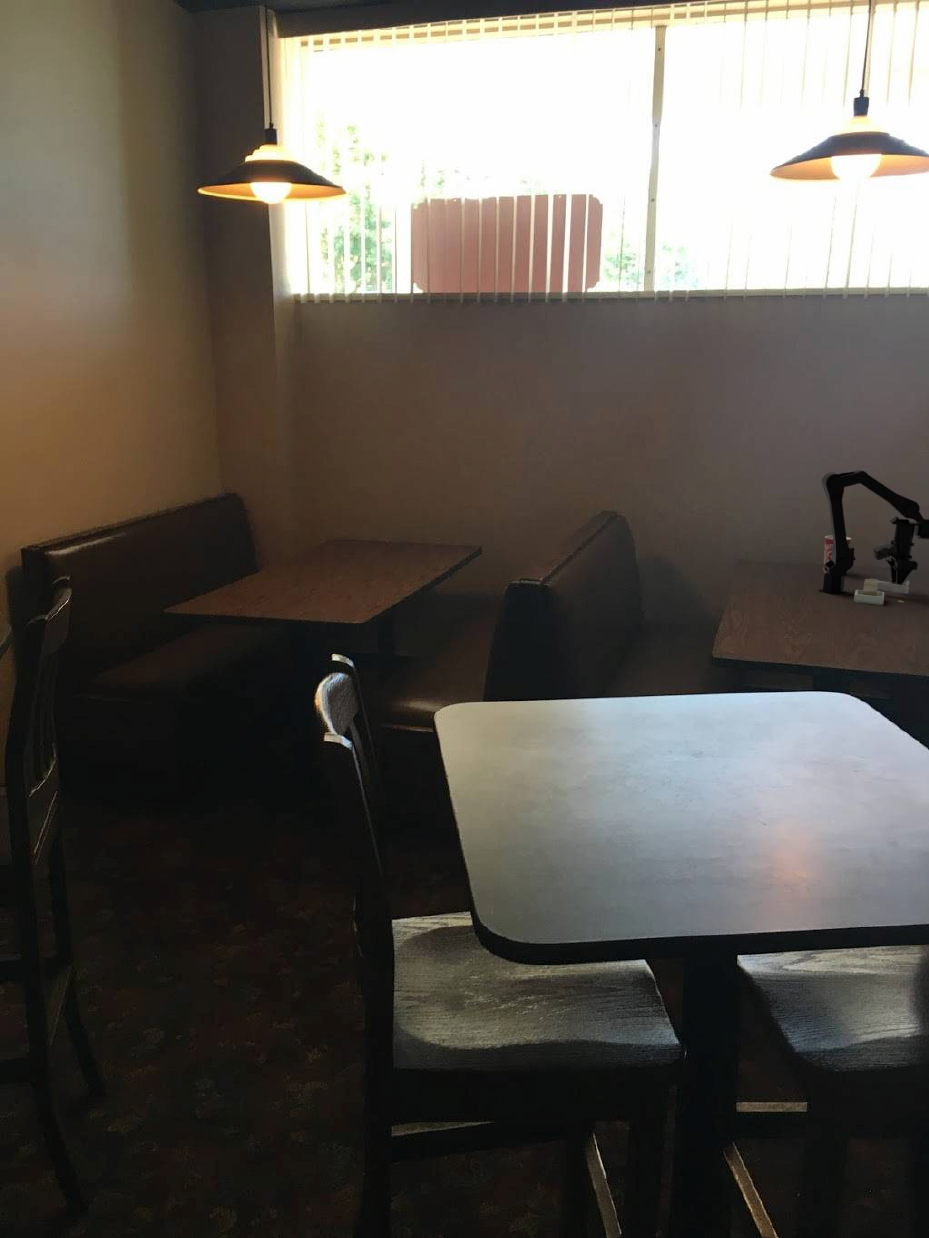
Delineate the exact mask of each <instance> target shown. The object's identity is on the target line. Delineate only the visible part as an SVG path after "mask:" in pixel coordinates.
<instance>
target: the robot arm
mask: <svg viewBox="0 0 929 1238" xmlns="http://www.w3.org/2000/svg"><path fill="white" fill-rule="evenodd" d="M821 484H822V488H823V491H824V494H825V496H826V499H827V502H828V508H829V517H830V525H831V526H830V527H831V532H832V533H831V534H832V536H833V548H832V555H831V560H829V561H828V562H827V563H826V564H824V563H823V568H824V570H825V571H826V573H825V574H824V573H823V574H824V575H823V584H822V588H819V589H818V591H819V592H823V593H826V594H830V595H838V594H846V593H847V592H848V591H847V590H844V586H845V579H846V578H845V576H846V575H847V572H848V571H850V570H851V568H853V566H854V564H855V563H854V562H855V561H856V560H857V559H856V557H855V547H853V546H852V545H851V544H850V545H848V544H847V538H846V537H847V532H846V521H845V514H844V506H843V498H844V493H845V488H847V487H851V486H854V485H855V486H856V485H858V484H860V485H861V486H863V487H864V488H865V489H867V490H869V491H870V492H872V493H873V494H875V495H876V496H878V497H879V498H881V499H882V500H884V501H885V502H887V504H889V506H890V507H891V508H892V510H894V511H895V512H896V513H897V514H898V515H900V516H901V517H903V518H899V517H898V516H897V515H895V516H894V517H893V518H892V519H890V520H889V523H890V524H892V525H895V529H894V534H893V538H892V539H891V540H890V542H889V544H883V545H881V546H876V547H873V548H872V551H873V556H874V559H876V560H877V561H880V560H881V561H882V560H883V559H884V561H885V562H886V563H887V564H888V565H889V568H890V575H891V576H890V577H891V583H898V584H904V582H905V581H906V579H907V578H908V576H909V575H910V574H911V572H912V571H917V570H918V568H919V564H918V562H917V561H916V560H915V559H913V555H912V547H915V542H914V536H916V537H917V539H918V540H929V518H924V516H923V515H922V513H921V512H920V510H921V508H920V504H919V503H918V502H917V501H916V500H912V499H910V498H908V497H905V496H903V495H902V494H901V495H900V494H898V493H897V492H894V491H893V490H892V489H891V488H889V487H887V486H886V485H884V484H883V483H881V482H880V481H878V480H877V479H875V478H874V477H872V476H871V475H870V474H869V473H867V471H864V470H862V469H861V470H860V469H858V470H854V471H846V472H841V473H836V472H833V471H832V472H827V473H825V474H824V475H823V477H822V479H821ZM905 518H906V519H905ZM909 519H910V520H912V521H913V522H912V521H910V520H909Z"/></svg>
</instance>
